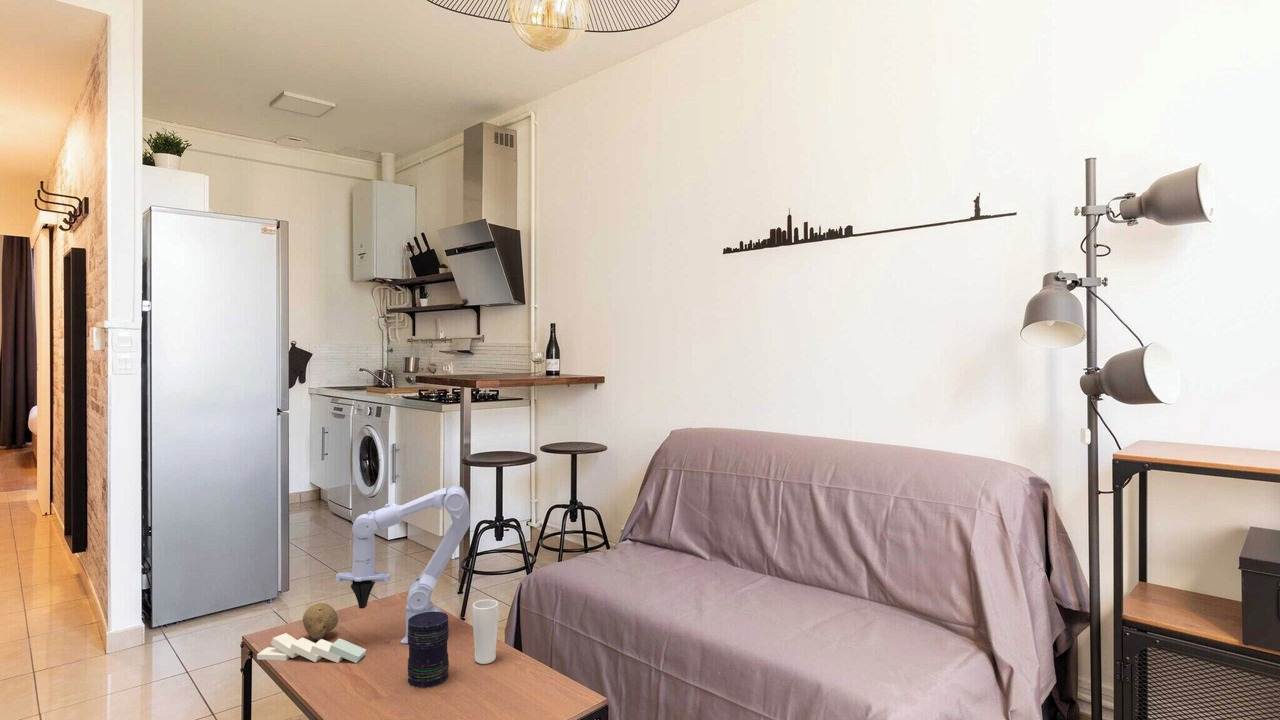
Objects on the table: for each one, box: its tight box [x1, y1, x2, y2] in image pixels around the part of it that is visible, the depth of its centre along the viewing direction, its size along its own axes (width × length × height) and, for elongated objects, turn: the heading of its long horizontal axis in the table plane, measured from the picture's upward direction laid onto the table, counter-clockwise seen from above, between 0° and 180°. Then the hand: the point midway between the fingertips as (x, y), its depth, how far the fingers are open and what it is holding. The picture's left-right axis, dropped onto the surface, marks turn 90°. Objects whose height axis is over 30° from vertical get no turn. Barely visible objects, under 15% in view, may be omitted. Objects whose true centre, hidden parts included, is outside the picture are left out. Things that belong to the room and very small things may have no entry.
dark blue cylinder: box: [407, 611, 450, 689], centre depth 168 cm, size 10×10×15 cm
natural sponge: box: [302, 602, 339, 641], centre depth 192 cm, size 9×9×10 cm
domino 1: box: [256, 646, 291, 661], centre depth 180 cm, size 2×4×8 cm
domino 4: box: [310, 638, 344, 664], centre depth 179 cm, size 2×4×8 cm
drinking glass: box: [471, 599, 499, 665], centre depth 178 cm, size 7×7×15 cm
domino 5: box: [329, 638, 367, 664], centre depth 179 cm, size 2×4×8 cm
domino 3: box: [290, 636, 324, 663], centre depth 179 cm, size 2×4×8 cm
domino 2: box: [270, 632, 300, 659], centre depth 181 cm, size 2×4×8 cm
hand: (362, 607), depth 188 cm, fingers closed
